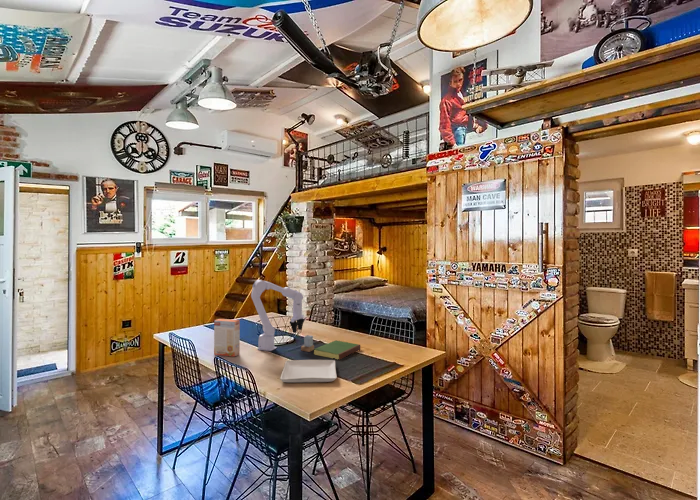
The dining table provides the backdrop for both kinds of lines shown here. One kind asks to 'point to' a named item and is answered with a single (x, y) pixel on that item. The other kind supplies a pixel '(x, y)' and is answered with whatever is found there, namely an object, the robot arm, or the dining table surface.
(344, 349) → the hardcover book
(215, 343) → the cracker box
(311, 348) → the walnut base block
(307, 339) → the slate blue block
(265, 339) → the robot arm
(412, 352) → the dining table surface
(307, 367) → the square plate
